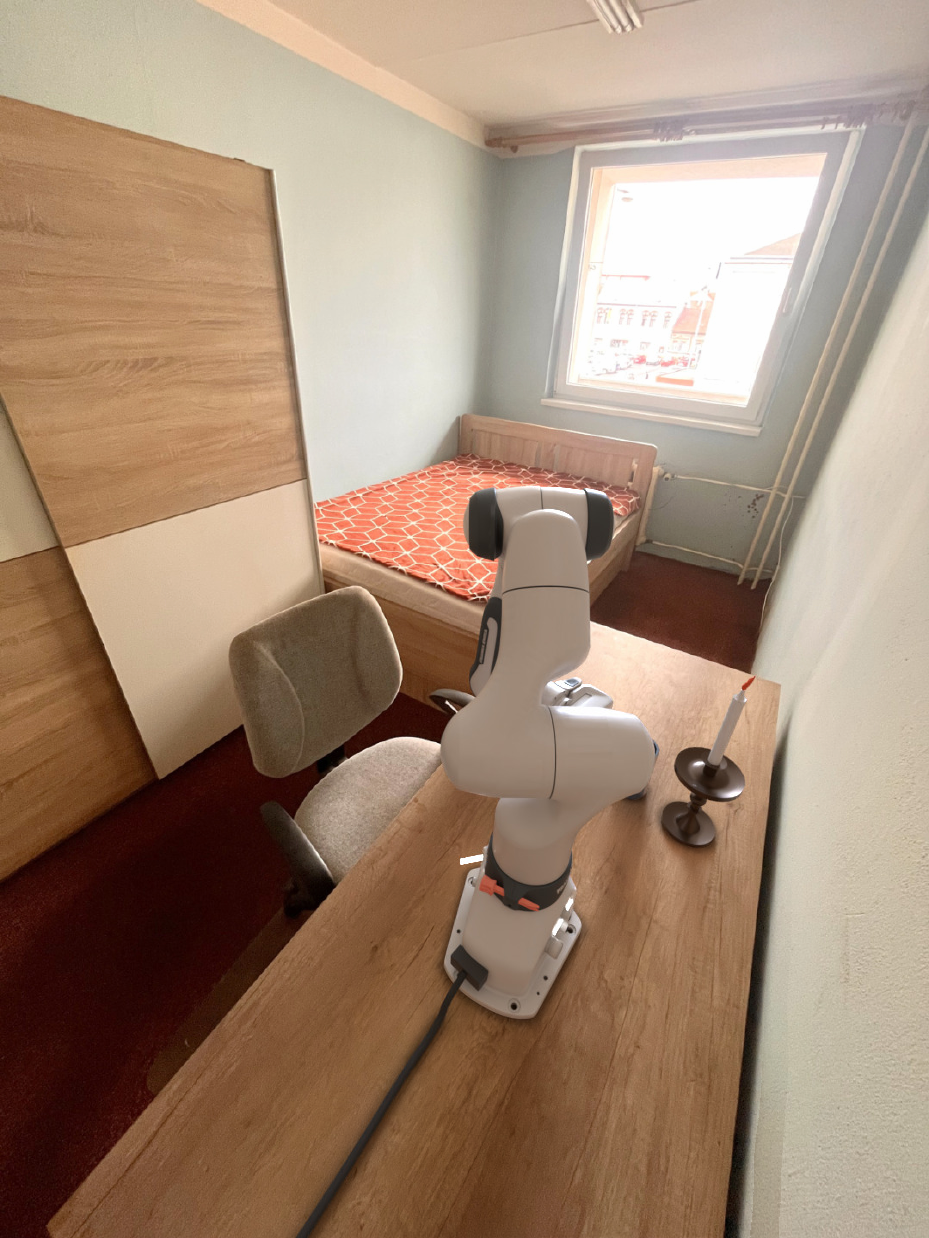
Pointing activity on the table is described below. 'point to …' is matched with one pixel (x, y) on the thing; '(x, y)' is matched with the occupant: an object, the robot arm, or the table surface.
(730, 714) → the candlestick
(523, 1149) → the table surface
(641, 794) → the cup
